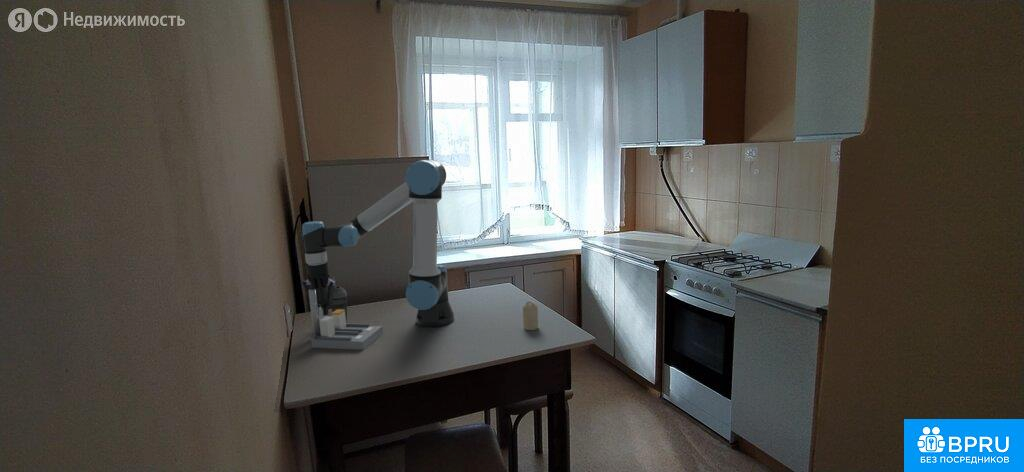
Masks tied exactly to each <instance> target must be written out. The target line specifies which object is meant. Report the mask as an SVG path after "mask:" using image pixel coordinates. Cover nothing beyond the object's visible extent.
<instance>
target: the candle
mask: <svg viewBox="0 0 1024 472" xmlns="http://www.w3.org/2000/svg"><path fill="white" fill-rule="evenodd" d="M538 309H539V308H538V305H537V304H536V303H534V302H530V301H526V302H524V304H523V305H522V316H523V317H522V318H523V319H522V320H523V322H522V323H523V329H524V330H526V331H535V330H538V328H539V313H538V312H539V311H538Z"/></svg>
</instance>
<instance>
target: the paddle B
mask: <svg viewBox="0 0 1024 472" xmlns="http://www.w3.org/2000/svg"><path fill="white" fill-rule="evenodd" d="M319 322H320V331H321V336H330V337H332V336H333V335H335V329H334V321H333V317H332V316H328V315H327V316H325V317H324V318H322V319H320V318H319Z"/></svg>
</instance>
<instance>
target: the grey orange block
mask: <svg viewBox="0 0 1024 472" xmlns="http://www.w3.org/2000/svg"><path fill="white" fill-rule="evenodd" d="M331 317H333V321H334V328H345V327H346V317H345V309H337V310H335V311H334V312H332V311H331Z"/></svg>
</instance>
